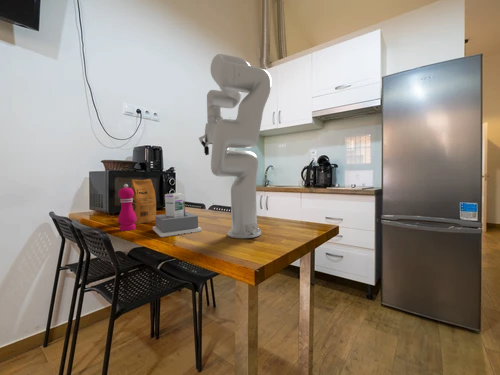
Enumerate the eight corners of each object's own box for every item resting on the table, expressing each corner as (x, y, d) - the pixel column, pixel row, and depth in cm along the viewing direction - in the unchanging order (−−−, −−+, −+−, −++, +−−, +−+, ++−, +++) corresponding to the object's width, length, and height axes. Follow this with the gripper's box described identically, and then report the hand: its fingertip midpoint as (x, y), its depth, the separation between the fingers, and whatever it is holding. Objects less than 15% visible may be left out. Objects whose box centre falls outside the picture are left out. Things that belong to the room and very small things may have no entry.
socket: (201, 231, 97) (201, 216, 97) (160, 237, 88) (160, 220, 88) (189, 224, 110) (188, 211, 110) (152, 229, 102) (152, 215, 102)
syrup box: (175, 229, 95) (173, 193, 94) (165, 228, 98) (164, 193, 98) (186, 227, 100) (184, 192, 99) (176, 225, 103) (175, 192, 102)
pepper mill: (140, 227, 107) (138, 183, 106) (130, 231, 100) (128, 184, 99) (125, 227, 108) (123, 183, 107) (114, 231, 101) (112, 184, 100)
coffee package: (125, 223, 119) (123, 179, 118) (148, 219, 129) (146, 179, 128) (135, 225, 113) (133, 179, 112) (159, 220, 123) (157, 178, 122)
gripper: (226, 124, 127) (227, 156, 128) (195, 121, 118) (197, 155, 119) (233, 121, 121) (234, 155, 121) (201, 117, 111) (202, 154, 112)
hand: (215, 155), depth 120 cm, fingers open, 9 cm apart
